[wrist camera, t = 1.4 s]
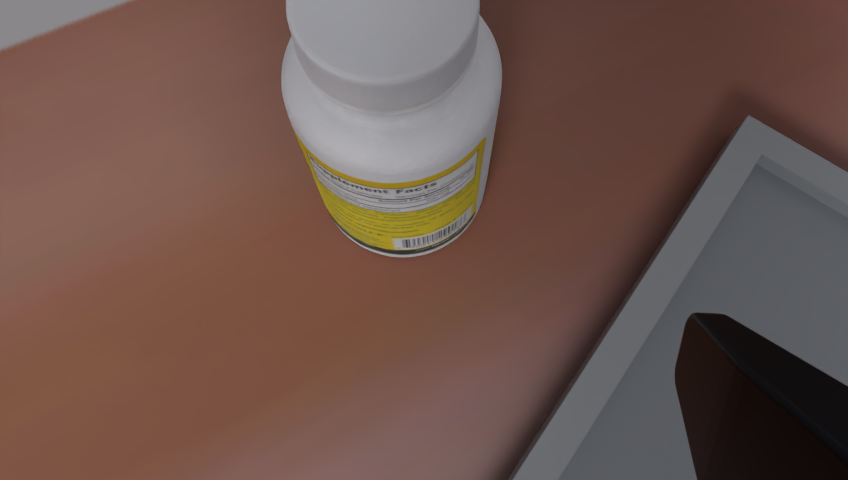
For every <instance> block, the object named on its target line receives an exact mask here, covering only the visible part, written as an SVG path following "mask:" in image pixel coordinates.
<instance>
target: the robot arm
mask: <svg viewBox="0 0 848 480" xmlns="http://www.w3.org/2000/svg"><path fill="white" fill-rule="evenodd" d="M675 386H676V390H677V395H678V399H679V403H680V408H681V412H682V417H683V421H684V425H685V430H686V434H687V438H688V443H689V447H690V452H691V456H692V460H693V465H694V469H695V473H696V477H697V480H848V386H847V385H845V384H843V383H842V382H840V381H838V380H836V379H835V378H833V377H831V376H830V375H828V374H826V373H825V372H823V371H821V370H819V369H818V368H816V367H814V366H813V365H811V364H809V363H807V362H806V361H804V360H802V359H801V358H799V357H797V356H796V355H794V354H792V353H790V352H789V351H787V350H785V349H784V348H782V347H780V346H778V345H777V344H775V343H773V342H772V341H770V340H768V339H767V338H765V337H763V336H761V335H760V334H758V333H756V332H755V331H753V330H751V329H750V328H748V327H746V326H744V325H743V324H741V323H739V322H738V321H736V320H734V319H732V318H731V317H729V316H727V315H725V314H720V313H699V312H697V313H693V314H691V315H690V316H689V317H688V319H687V321H686V323H685V327H684V331H683V336H682V340H681V344H680V348H679V353H678V357H677V361H676V365H675Z"/></svg>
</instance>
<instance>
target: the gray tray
mask: <svg viewBox="0 0 848 480" xmlns="http://www.w3.org/2000/svg"><path fill="white" fill-rule="evenodd" d="M697 312H699V313H720V314H725V315H727V316H729V317H731V318H732V319H734V320H736V321H738V322H739V323H741V324H743V325H744V326H746V327H748V328H750V329H751V330H753V331H755V332H756V333H758V334H760V335H761V336H763V337H765V338H767V339H768V340H770V341H772V342H773V343H775V344H777V345H778V346H780V347H782V348H784V349H785V350H787V351H789V352H790V353H792V354H794V355H796V356H797V357H799V358H801V359H802V360H804V361H806V362H807V363H809V364H811V365H813V366H814V367H816V368H818V369H819V370H821V371H823V372H825V373H826V374H828V375H830V376H831V377H833V378H835V379H836V380H838V381H840V382H842V383H843V384H845V385H847V386H848V172H846V171H845V170H843V169H841V168H839V167H838V166H836V165H834V164H832V163H831V162H829V161H827V160H826V159H824V158H822V157H820V156H819V155H817V154H815V153H813V152H812V151H810V150H808V149H807V148H805V147H803V146H801V145H800V144H798V143H796V142H794V141H793V140H791V139H789V138H788V137H786V136H784V135H782V134H781V133H779V132H777V131H775V130H774V129H772V128H770V127H769V126H767V125H765V124H763V123H762V122H760V121H758V120H756V119H755V118H753V117H751V116H750V115H748V116H747V117H746V118H745V119H744V120H743V121H742V123H741V124H740V125H739V126H738V127H737V128H736V129H735V130H734V132H733V133H732V134H731V135H730V136H729V138H728V140H727V141H726V143H725V144H724V146H723V147H722V149H721V150H720V152H719V153H718V155H717V157H716V158H715V160H714V161H713V163H712V164H711V166H710V167H709V169H708V170H707V172H706V174H705V175H704V177H703V178H702V180H701V181H700V183H699V184H698V186H697V187H696V189H695V190H694V192H693V194H692V195H691V197H690V198H689V200H688V201H687V203H686V204H685V206H684V207H683V209H682V211H681V212H680V214H679V215H678V217H677V218H676V220H675V221H674V223H673V224H672V226H671V228H670V229H669V231H668V232H667V234H666V235H665V237H664V238H663V240H662V241H661V243H660V244H659V246H658V248H657V249H656V251H655V252H654V254H653V255H652V257H651V258H650V260H649V261H648V263H647V265H646V266H645V268H644V269H643V271H642V272H641V274H640V275H639V277H638V278H637V280H636V282H635V283H634V285H633V286H632V288H631V289H630V291H629V292H628V294H627V295H626V297H625V299H624V300H623V302H622V303H621V305H620V306H619V308H618V309H617V311H616V312H615V314H614V315H613V317H612V319H611V320H610V322H609V323H608V325H607V326H606V328H605V329H604V331H603V332H602V334H601V336H600V337H599V339H598V340H597V342H596V343H595V345H594V346H593V348H592V349H591V351H590V353H589V354H588V356H587V357H586V359H585V360H584V362H583V363H582V365H581V366H580V368H579V369H578V371H577V373H576V374H575V376H574V377H573V379H572V380H571V382H570V383H569V385H568V386H567V388H566V390H565V391H564V393H563V394H562V396H561V397H560V399H559V400H558V402H557V403H556V405H555V407H554V408H553V410H552V411H551V413H550V414H549V416H548V417H547V419H546V420H545V422H544V423H543V425H542V427H541V428H540V430H539V431H538V433H537V434H536V436H535V437H534V439H533V440H532V442H531V444H530V445H529V447H528V448H527V450H526V451H525V453H524V454H523V456H522V457H521V459H520V461H519V462H518V464H517V465H516V467H515V468H514V470H513V471H512V473H511V474H510V476H509V477H508V479H507V480H697V477H696V473H695V469H694V465H693V460H692V456H691V452H690V447H689V443H688V438H687V434H686V430H685V425H684V421H683V417H682V412H681V408H680V403H679V399H678V395H677V390H676V386H675V365H676V361H677V357H678V353H679V348H680V344H681V340H682V336H683V331H684V327H685V323H686V321H687V319H688V317H689V316H690V315H691V314H693V313H697Z"/></svg>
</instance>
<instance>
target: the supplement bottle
mask: <svg viewBox="0 0 848 480" xmlns="http://www.w3.org/2000/svg"><path fill="white" fill-rule="evenodd" d="M479 11H480V0H286V15H287V21H288V25H289V29H290V32H291V35H292V36H291V38H290V40H289V43H288V46H287V48H286V51H285V54H284V58H283V64H282V71H281V88H282V95H283V100H284V104H285V108H286V111H287V114H288V117H289V120H290V122H291V125H292V128H293V130H294V132H295V135H296V137H297V139H298V142H299V144H300V146H301V149H302V151H303V153H304V156H305V158H306V161H307V163H308V166H309V168H310V171H311V173H312V175H313V177H314V180H315V182H316V185H317V187H318V189H319V192H320V194H321V197H322V199H323V202H324V204H325V206H326V208H327V210H328V212H329V214H330V215H331V217H332V219H333V220H334V222H335V223H336V225H337V226H338V227H339V229H340V230H341V231H342V232H343V233H344V234H345V235H346V236H347V237H349V238H350V239H351V240H352V241H354V242H355V243H357V244H358V245H360V246H362V247H363V248H365V249H367V250H370V251H372V252H375V253H378V254H381V255H386V256H391V257H414V256H420V255H425V254H428V253H431V252H434V251H436V250H439V249H441V248H443V247H445V246H446V245H448V244H450V243H451V242H453V241H454V240H455V239H457V238H458V237H459V236H460V235H461V234H462V233H463V232H464V231H465V230H466V229H467V228H468V226H469V225H470V224H471V222H472V221H473V219H474V218H475V216H476V214H477V212H478V210H479V208H480V205H481V203H482V199H483V196H484V191H485V187H486V182H487V177H488V170H489V164H490V158H491V153H492V147H493V141H494V135H495V128H496V121H497V116H498V110H499V104H500V97H501V89H502V66H501V58H500V54H499V50H498V47H497V44H496V41H495V39H494V37H493V35H492V33H491V31H490V29H489V27H488V26H487V24H486V23H485V21H484V20H483V18H482V17H481V16H480V15H479Z"/></svg>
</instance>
